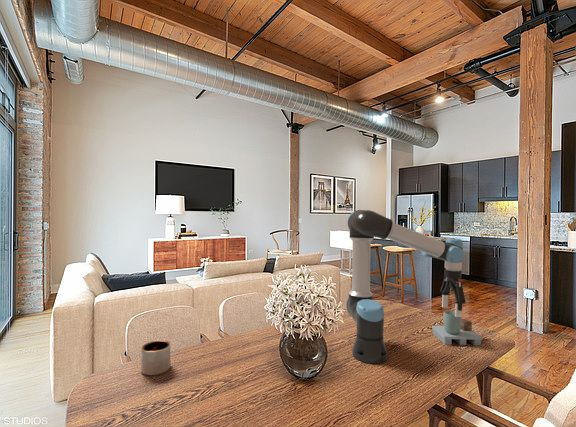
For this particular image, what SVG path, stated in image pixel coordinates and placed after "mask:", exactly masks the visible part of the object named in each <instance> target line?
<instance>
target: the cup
mask: <svg viewBox="0 0 576 427" xmlns="http://www.w3.org/2000/svg"><path fill="white" fill-rule="evenodd" d="M442 317H443V318H442V320H443V322H442V323H443V326H444V329H445V331H446V332H448V333H450V334H458V333H459V332H460V329H461V319H462V317H455V310H452V309H451V310H446V309H445V310H444V311H443V316H442Z"/></svg>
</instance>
